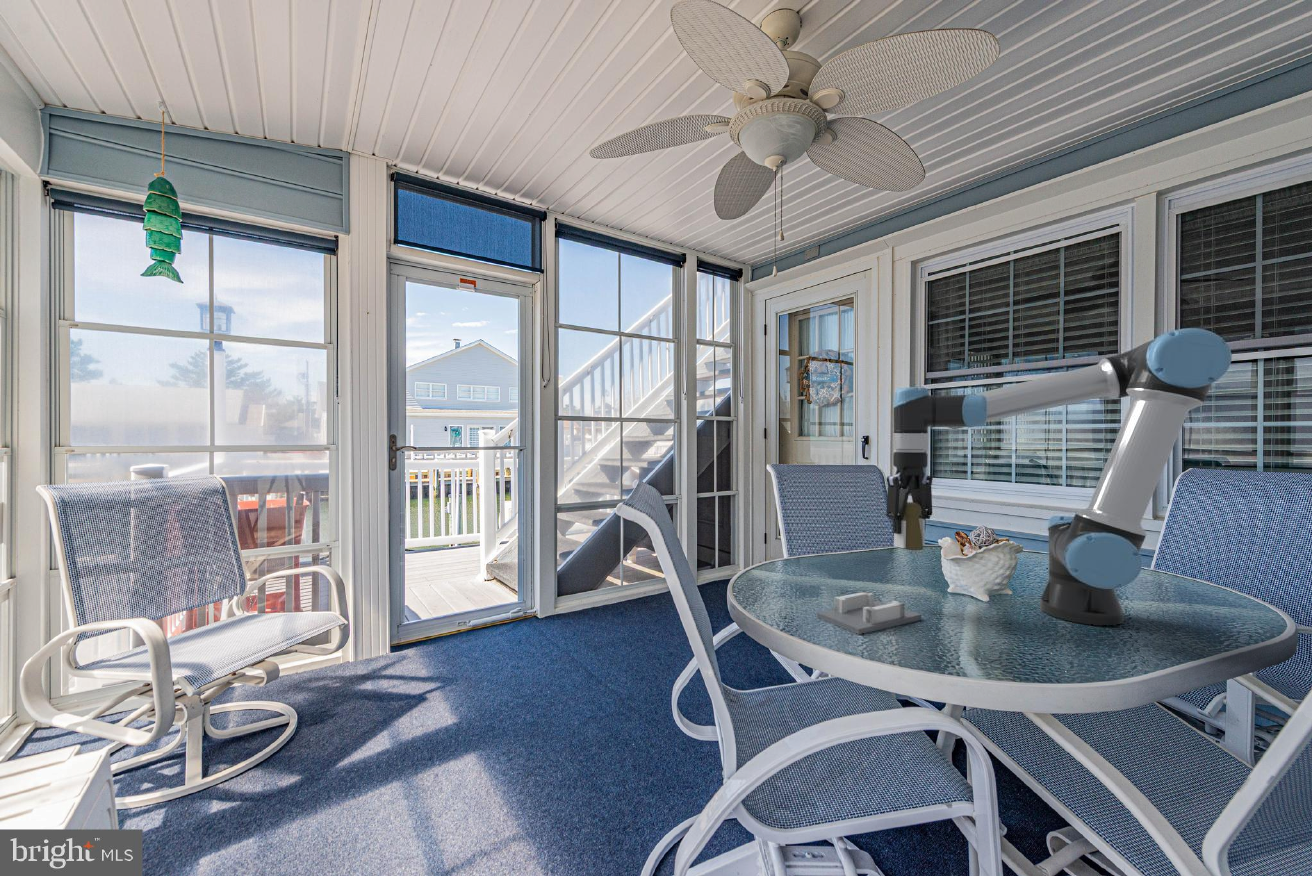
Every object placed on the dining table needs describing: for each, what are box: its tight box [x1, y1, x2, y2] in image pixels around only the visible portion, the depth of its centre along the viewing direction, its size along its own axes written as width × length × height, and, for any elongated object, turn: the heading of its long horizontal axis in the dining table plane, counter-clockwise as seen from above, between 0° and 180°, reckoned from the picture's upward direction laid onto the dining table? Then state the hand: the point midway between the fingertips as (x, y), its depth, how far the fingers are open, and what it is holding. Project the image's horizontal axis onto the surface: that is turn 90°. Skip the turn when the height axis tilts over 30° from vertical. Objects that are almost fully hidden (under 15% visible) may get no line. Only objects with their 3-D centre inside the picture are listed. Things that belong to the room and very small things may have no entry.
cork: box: [896, 501, 924, 551], centre depth 127 cm, size 6×6×11 cm
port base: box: [816, 591, 922, 636], centre depth 119 cm, size 12×20×4 cm, turn 117°
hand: (909, 545), depth 127 cm, fingers closed on cork, 6 cm apart
